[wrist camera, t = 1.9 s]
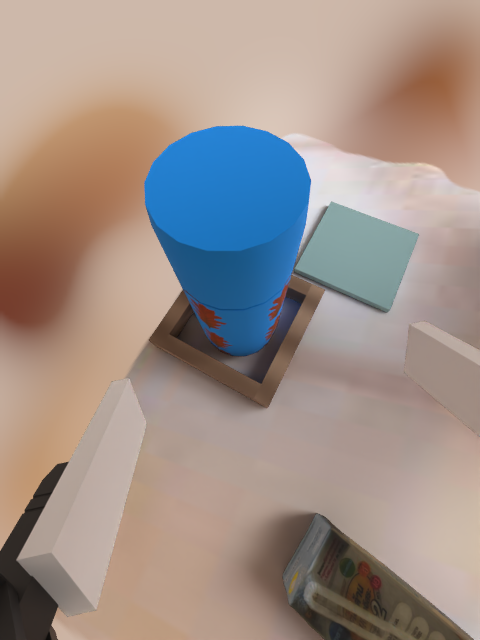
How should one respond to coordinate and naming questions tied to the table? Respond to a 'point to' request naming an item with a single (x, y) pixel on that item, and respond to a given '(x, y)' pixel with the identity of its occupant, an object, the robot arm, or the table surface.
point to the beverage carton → (357, 593)
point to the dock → (246, 386)
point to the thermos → (231, 228)
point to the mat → (358, 256)
